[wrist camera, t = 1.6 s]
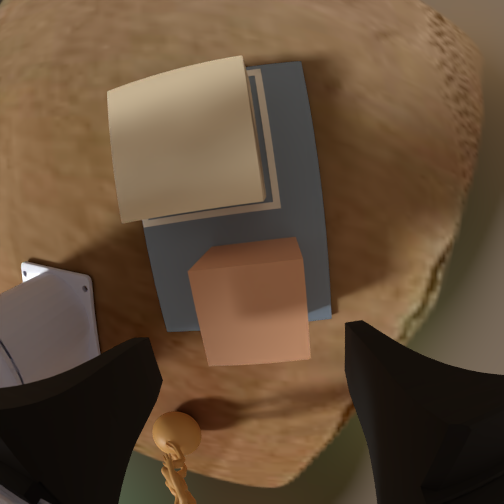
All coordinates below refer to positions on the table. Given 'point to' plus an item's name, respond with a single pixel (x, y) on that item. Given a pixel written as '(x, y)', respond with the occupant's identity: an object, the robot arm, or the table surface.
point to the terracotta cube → (252, 302)
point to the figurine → (177, 450)
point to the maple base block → (185, 141)
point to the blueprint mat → (254, 204)
